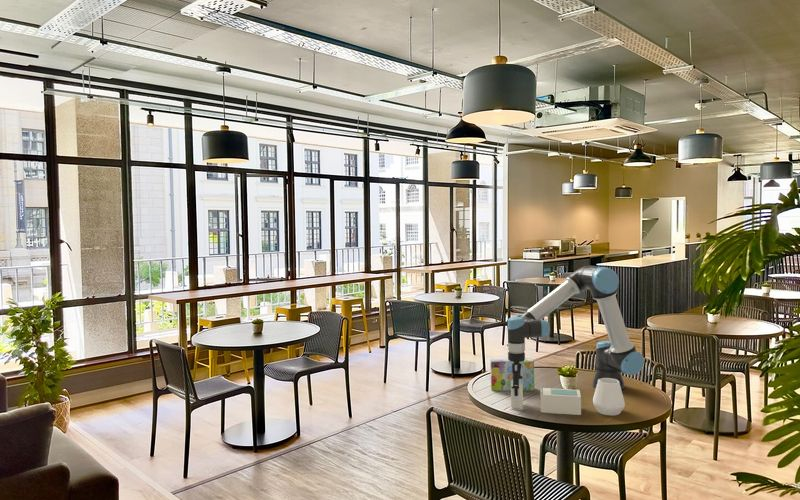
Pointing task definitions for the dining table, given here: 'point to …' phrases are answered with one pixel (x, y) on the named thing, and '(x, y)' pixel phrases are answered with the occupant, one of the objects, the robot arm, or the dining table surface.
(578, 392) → the white tissue box
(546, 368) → the dining table surface
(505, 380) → the snack box
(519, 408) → the pad
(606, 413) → the white vase
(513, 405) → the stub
